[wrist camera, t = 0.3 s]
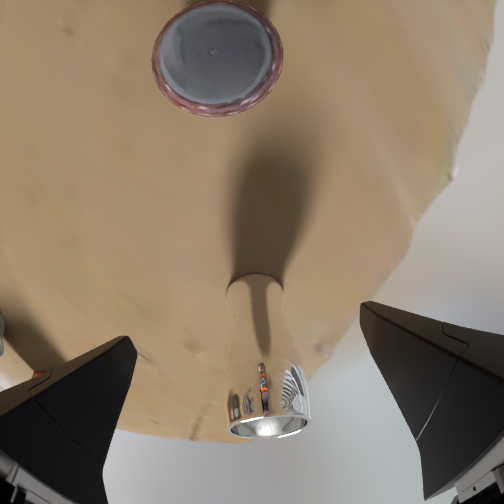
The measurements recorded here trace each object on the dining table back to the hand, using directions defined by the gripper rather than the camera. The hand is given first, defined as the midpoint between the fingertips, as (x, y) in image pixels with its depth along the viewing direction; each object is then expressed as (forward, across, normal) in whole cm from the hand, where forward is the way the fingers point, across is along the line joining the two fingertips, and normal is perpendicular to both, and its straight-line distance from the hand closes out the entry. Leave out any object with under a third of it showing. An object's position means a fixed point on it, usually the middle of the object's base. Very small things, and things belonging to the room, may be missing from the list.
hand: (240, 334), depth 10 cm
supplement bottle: (+13, 0, +12) cm, 18 cm away
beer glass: (+18, -1, -10) cm, 21 cm away
